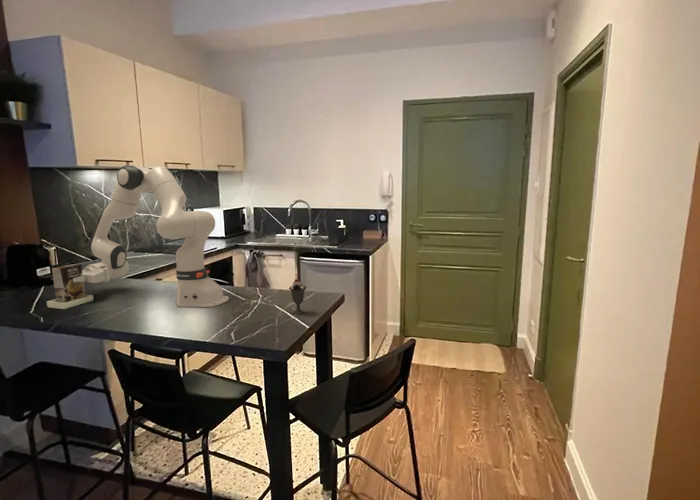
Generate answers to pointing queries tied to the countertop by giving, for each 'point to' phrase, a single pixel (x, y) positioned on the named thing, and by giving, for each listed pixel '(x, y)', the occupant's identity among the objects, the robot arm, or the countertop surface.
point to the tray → (69, 304)
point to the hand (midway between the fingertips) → (65, 279)
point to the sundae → (297, 295)
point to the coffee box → (68, 283)
